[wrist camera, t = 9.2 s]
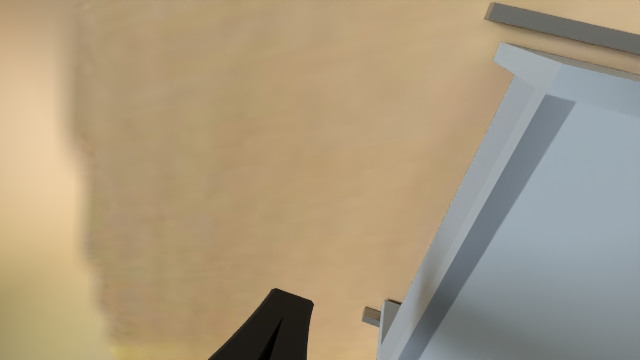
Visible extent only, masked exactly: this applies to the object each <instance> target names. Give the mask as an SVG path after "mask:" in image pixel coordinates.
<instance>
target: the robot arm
mask: <svg viewBox="0 0 640 360" xmlns="http://www.w3.org/2000/svg"><path fill="white" fill-rule="evenodd" d="M313 306H314V304H313V302H312V301H311V300H308V299H305V298H302V297H300V296H297V295H294V294H291V293H288V292H285V291H283V290H280V289H277V288H274V289H272V290H271V291H270V293H269V294H268V296H267V297H266V298H265V300H264V301H263V302H262V303H261V305H260V306H259V307H258V308H257V309H256V311H255V312H254V313H253V314H252V315H251V316H250V317H249V319H248V320H247V321H246V322H245V323H244V324H243V325H242V326H241V327H240V328H239V329H238V330H237V331H236V332H235V333H234V334H233V336H232V337H231V338H230V339H229V340H228V341H227V342H226V343H225V344H224V345H223V346H222V347H221V348H220V349H218V350H217V351H216V352H215V353H214V354H213V355H212V356H211V357H210V358H209V359H208V360H307V343H308V333H309V325H310V319H311V314H312V310H313Z"/></svg>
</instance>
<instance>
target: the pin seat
mask: <svg viewBox="0 0 640 360" xmlns="http://www.w3.org/2000/svg"><path fill="white" fill-rule="evenodd" d="M484 19H488V20H492V21H497V22H501V23H505V24H510V25H514V26H518V27H523V28H527V29H531V30H536V31H540V32H544V33H548V34H553V35H557V36H561V37H566V38H570V39H574V40H579V41H583V42H587V43H592V44H596V45H600V46H604V47H609V48H613V49H617V50H622V51H626V52H630V53H635V54H639V55H640V35H636V34H632V33H627V32H623V31H619V30H614V29H610V28H605V27H601V26H596V25H592V24H587V23H583V22H579V21H574V20H570V19H565V18H561V17H556V16H552V15H548V14H543V13H539V12H534V11H530V10H525V9H521V8H517V7H512V6H508V5H503V4H499V3H490V6H489V8H488V11H487V13H486V15H485V18H484ZM380 318H381V312H379V311H376V310H373V309H371V308H368V307H365V309H364V311H363V317H362V321H363V322H366V323H369V324H371V325H374V326H377V327H380Z"/></svg>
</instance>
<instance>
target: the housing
mask: <svg viewBox="0 0 640 360" xmlns="http://www.w3.org/2000/svg"><path fill="white" fill-rule="evenodd" d="M493 62H495V63H497V64H498V65H500V66H501V67H503V68H505V69H506V70H508V71H509V72H511V73H513V74H514V75H515V76H514V78H513V80H512V82H511V84H510V86H509V88H508V90H507V92H506V94H505V96H504V98H503V100H502V102H501V104H500V106H499V108H498V110H497V112H496V114H495V116H494V118H493V120H492V122H491V124H490V126H489V128H488V130H487V132H486V134H485V136H484V138H483V140H482V142H481V144H480V146H479V148H478V151H477V153H476V155H475V157H474V159H473V161H472V163H471V165H470V167H469V169H468V171H467V173H466V175H465V177H464V179H463V181H462V183H461V185H460V187H459V189H458V191H457V193H456V195H455V197H454V199H453V201H452V203H451V205H450V207H449V209H448V211H447V213H446V215H445V217H444V219H443V221H442V223H441V225H440V227H439V229H438V231H437V233H436V235H435V237H434V240H433V242H432V244H431V246H430V248H429V250H428V252H427V254H426V256H425V258H424V260H423V262H422V264H421V266H420V268H419V270H418V272H417V274H416V276H415V278H414V280H413V282H412V284H411V286H410V288H409V290H408V292H407V294H406V296H405V298H404V300H403V302H402V304H401V305H399V304H396V303H393V302H390V301H387V300H385V301H384V303H383V305H382V308H381V318H380V328H379V338H378V348H377V358H376V360H640V75H638V74H634V73H629V72H625V71H621V70H617V69H613V68H609V67H604V66H600V65H596V64H592V63H588V62H583V61H579V60H575V59H571V58H567V57H562V56H558V55H554V54H550V53H546V52H542V51H537V50H533V49H529V48H525V47H521V46H516V45H512V44H508V43H504V42H501V43H500V46H499V48H498V50H497V52H496V54H495V57H494V59H493Z"/></svg>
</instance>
